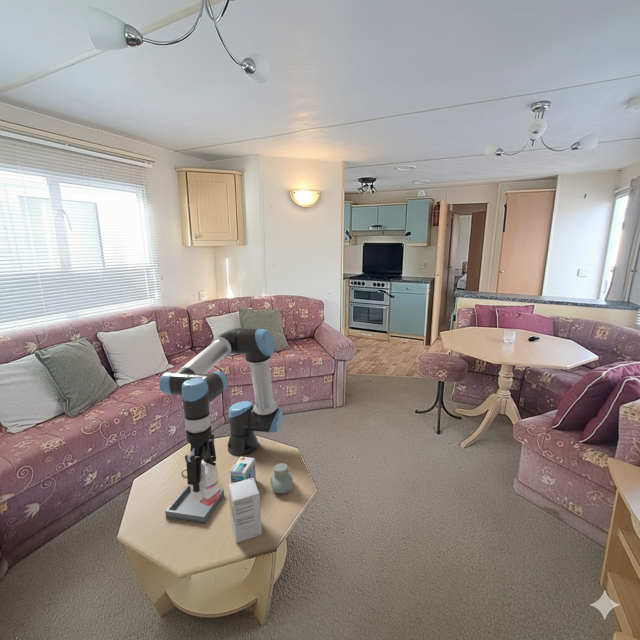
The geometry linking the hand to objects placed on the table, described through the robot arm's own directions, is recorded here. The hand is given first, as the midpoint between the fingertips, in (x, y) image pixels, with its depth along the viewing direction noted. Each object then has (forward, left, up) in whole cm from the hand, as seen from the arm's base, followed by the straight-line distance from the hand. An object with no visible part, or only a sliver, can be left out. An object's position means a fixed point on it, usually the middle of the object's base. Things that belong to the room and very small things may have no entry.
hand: (204, 491), depth 112 cm
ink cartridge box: (0, 0, -3) cm, 3 cm away
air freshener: (-31, +16, -21) cm, 40 cm away
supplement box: (-8, +10, -21) cm, 24 cm away
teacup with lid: (-29, -22, -21) cm, 42 cm away
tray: (-15, -14, -20) cm, 29 cm away
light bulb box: (-29, 0, -21) cm, 35 cm away
